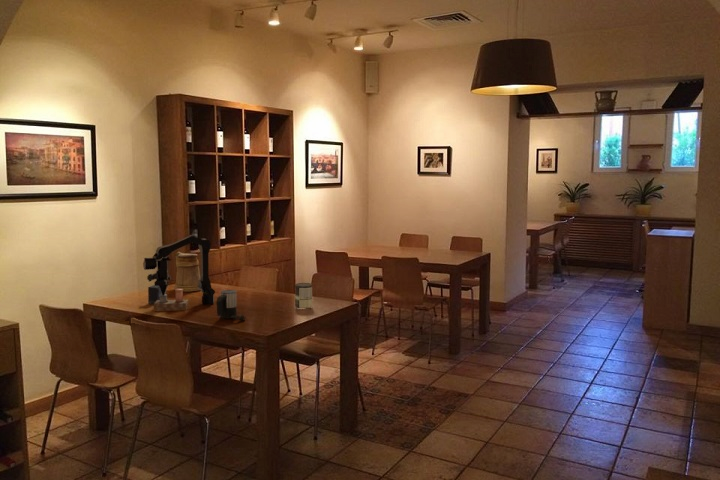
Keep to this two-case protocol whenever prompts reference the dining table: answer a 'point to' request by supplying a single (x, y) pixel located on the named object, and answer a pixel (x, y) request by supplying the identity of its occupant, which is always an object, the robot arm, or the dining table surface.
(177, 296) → the brick plug
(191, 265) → the tankard
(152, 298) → the small box
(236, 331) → the dining table surface
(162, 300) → the grey plug
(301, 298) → the coffee can
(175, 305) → the socket block
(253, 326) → the dining table surface
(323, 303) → the dining table surface
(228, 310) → the milk frother
